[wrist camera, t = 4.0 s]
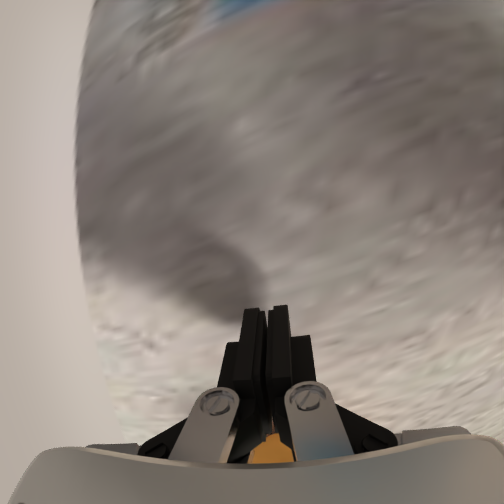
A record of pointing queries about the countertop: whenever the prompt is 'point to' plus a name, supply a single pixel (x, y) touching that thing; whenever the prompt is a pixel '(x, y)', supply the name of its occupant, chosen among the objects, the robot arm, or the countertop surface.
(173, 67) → the countertop surface
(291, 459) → the ball
